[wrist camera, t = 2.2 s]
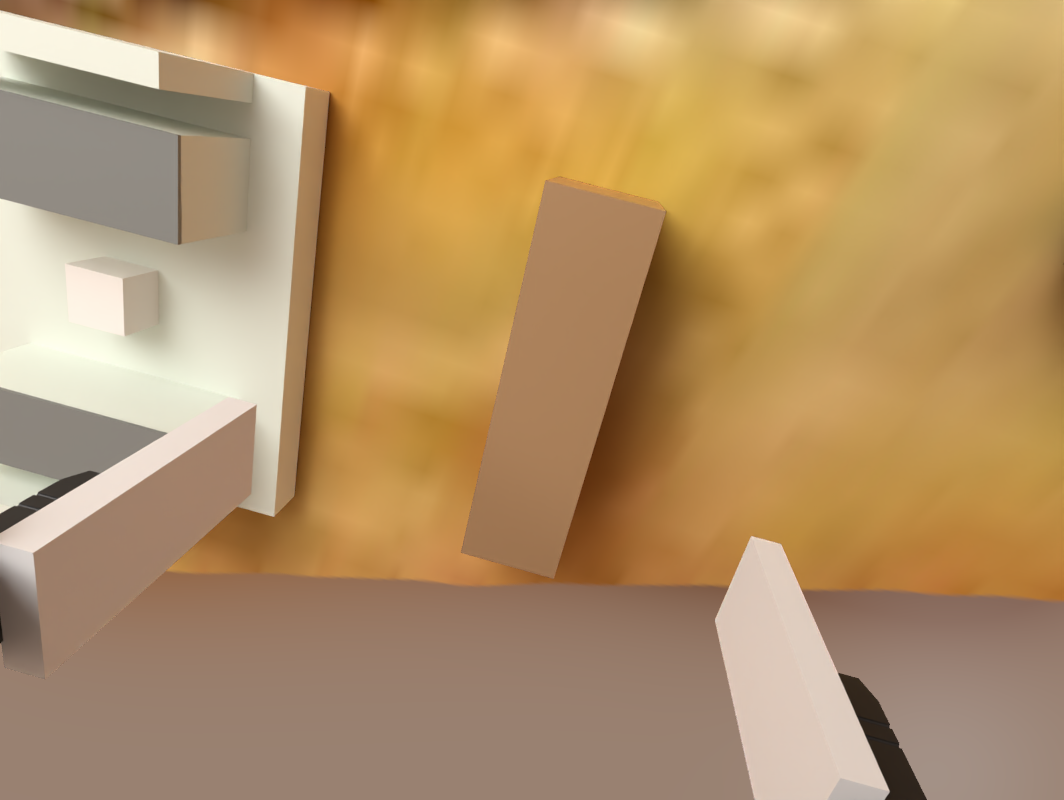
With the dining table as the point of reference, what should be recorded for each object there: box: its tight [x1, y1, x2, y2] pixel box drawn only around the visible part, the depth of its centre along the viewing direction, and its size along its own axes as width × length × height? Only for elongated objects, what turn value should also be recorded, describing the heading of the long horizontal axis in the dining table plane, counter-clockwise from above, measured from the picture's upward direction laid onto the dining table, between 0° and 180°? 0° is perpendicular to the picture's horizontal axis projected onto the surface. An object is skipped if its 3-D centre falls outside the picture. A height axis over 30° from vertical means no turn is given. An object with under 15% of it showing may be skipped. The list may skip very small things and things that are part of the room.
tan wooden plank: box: [461, 177, 666, 579], centre depth 25 cm, size 15×4×5 cm, turn 166°
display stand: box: [0, 10, 330, 517], centre depth 25 cm, size 19×14×7 cm
